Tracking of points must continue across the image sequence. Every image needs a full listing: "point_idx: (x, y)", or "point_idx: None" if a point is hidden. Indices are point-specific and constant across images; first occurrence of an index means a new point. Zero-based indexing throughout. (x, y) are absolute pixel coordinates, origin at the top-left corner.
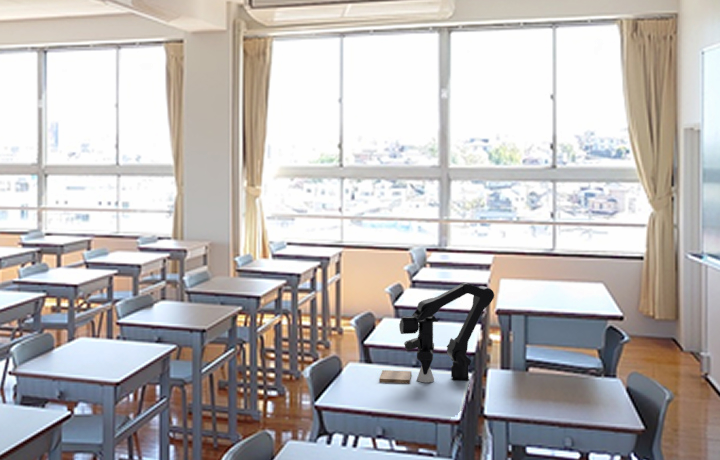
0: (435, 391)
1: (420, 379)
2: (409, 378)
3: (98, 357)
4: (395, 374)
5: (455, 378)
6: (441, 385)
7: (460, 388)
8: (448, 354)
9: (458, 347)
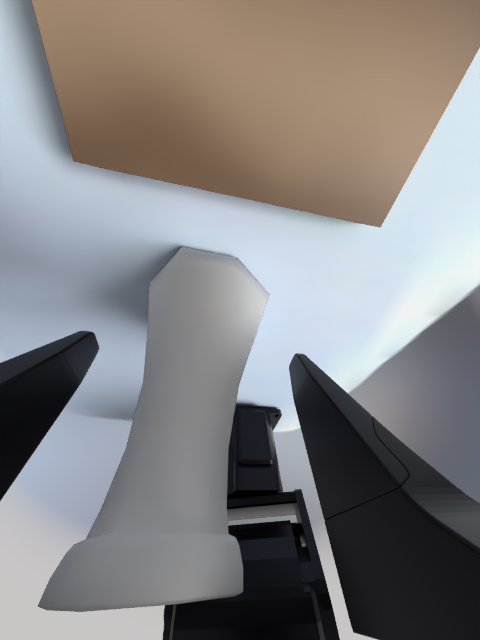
0: (2, 336)
1: (159, 280)
2: (129, 166)
3: None
4: None
5: None
6: (131, 367)
7: (113, 413)
8: (273, 569)
9: None
